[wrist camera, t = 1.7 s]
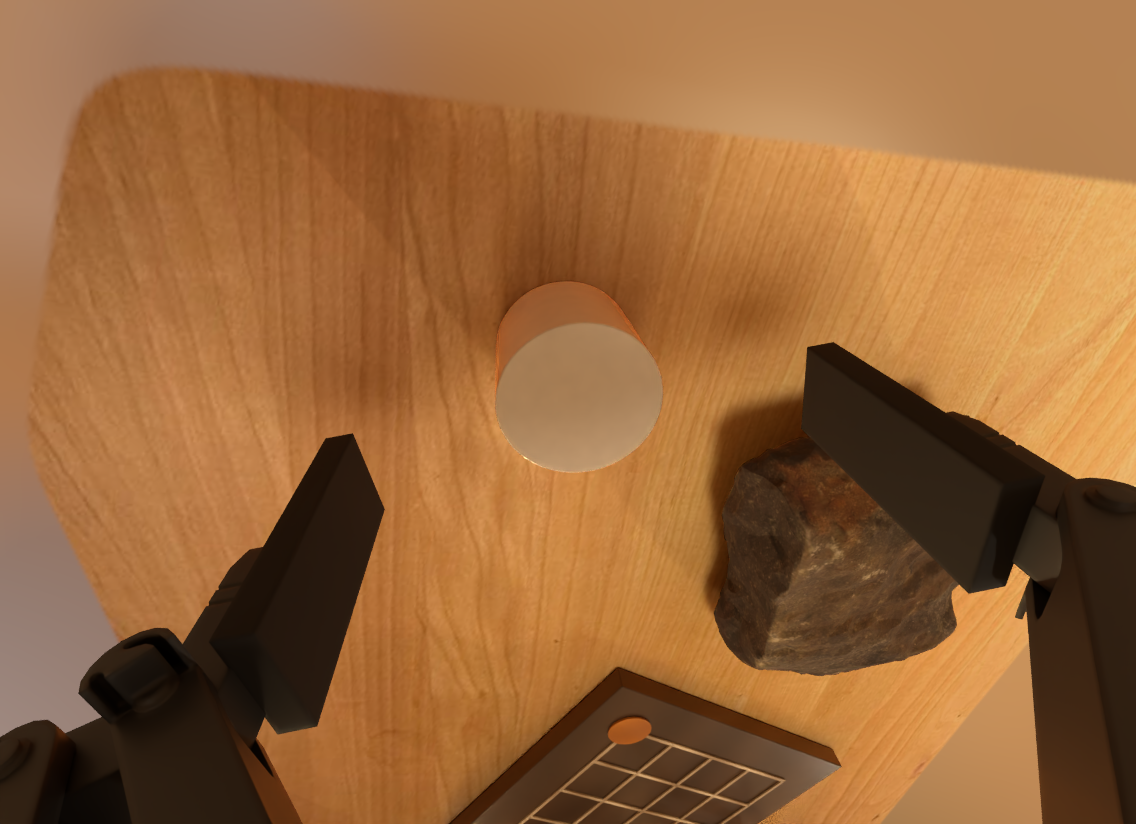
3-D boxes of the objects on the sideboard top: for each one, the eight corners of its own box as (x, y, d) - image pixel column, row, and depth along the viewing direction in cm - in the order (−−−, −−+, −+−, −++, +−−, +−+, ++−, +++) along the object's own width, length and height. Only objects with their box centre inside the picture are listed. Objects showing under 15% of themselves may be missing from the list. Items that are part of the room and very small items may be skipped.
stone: (696, 621, 29) (745, 730, 24) (722, 413, 21) (804, 516, 16) (861, 584, 30) (939, 682, 25) (946, 376, 22) (1082, 460, 17)
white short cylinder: (469, 366, 20) (462, 426, 16) (548, 251, 18) (561, 286, 14) (578, 429, 22) (595, 496, 18) (658, 330, 20) (697, 381, 16)
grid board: (440, 832, 36) (438, 855, 35) (617, 666, 30) (622, 688, 28) (652, 873, 44) (656, 894, 42) (832, 748, 37) (843, 769, 36)
